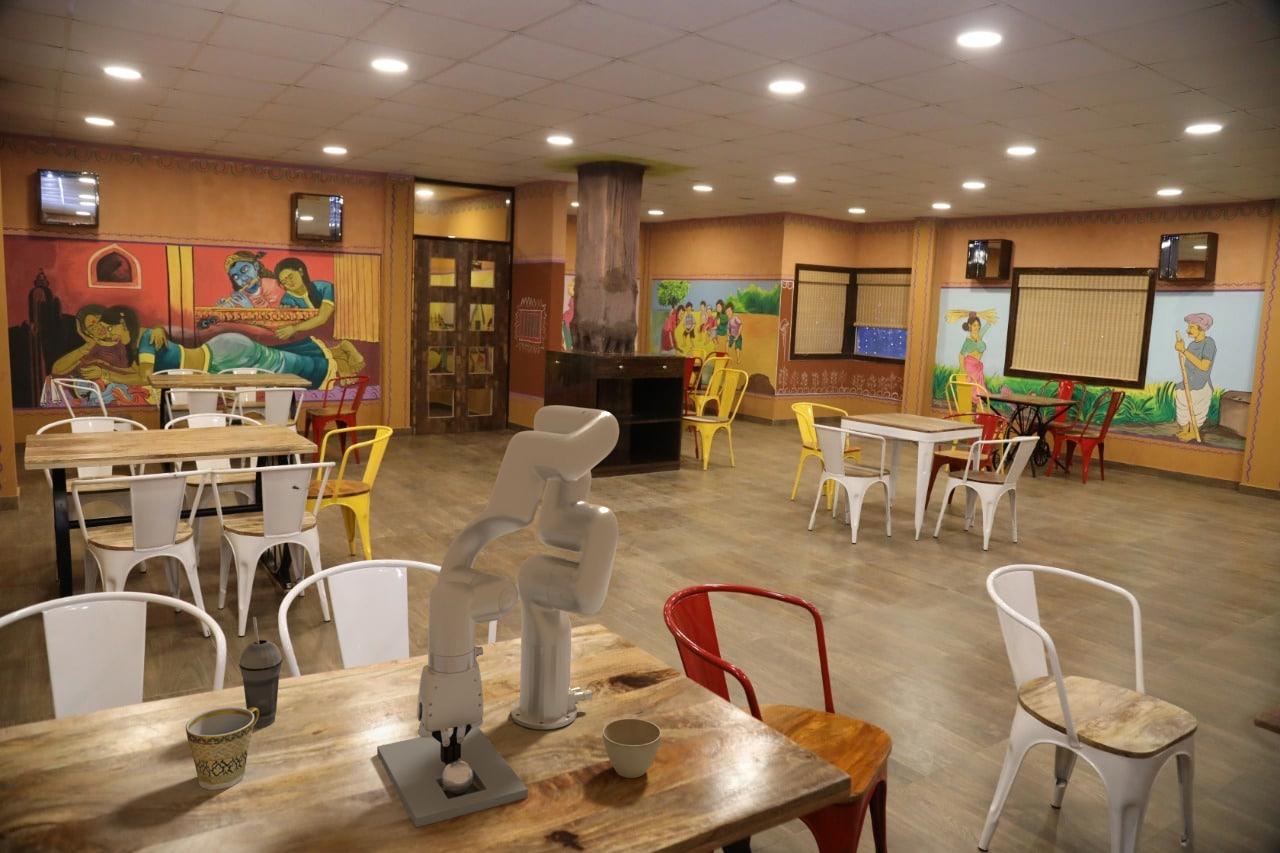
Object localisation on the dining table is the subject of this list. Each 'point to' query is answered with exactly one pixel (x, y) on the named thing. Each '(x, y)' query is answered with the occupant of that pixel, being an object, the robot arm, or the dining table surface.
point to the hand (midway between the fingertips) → (450, 763)
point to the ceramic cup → (221, 745)
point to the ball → (457, 777)
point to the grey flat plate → (421, 777)
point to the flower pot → (631, 745)
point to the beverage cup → (261, 678)
